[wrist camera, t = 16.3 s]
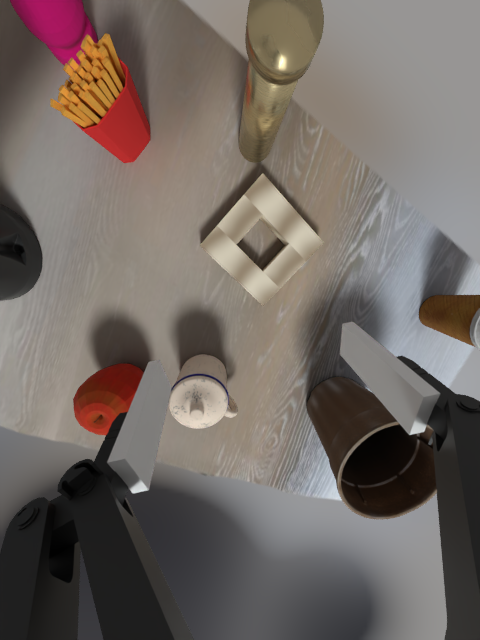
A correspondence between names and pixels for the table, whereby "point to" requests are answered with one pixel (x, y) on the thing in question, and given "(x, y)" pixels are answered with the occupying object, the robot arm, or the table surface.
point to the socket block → (280, 220)
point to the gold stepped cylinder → (275, 66)
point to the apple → (106, 396)
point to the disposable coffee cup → (454, 316)
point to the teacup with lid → (201, 393)
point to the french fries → (104, 100)
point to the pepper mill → (57, 25)
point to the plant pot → (371, 451)
